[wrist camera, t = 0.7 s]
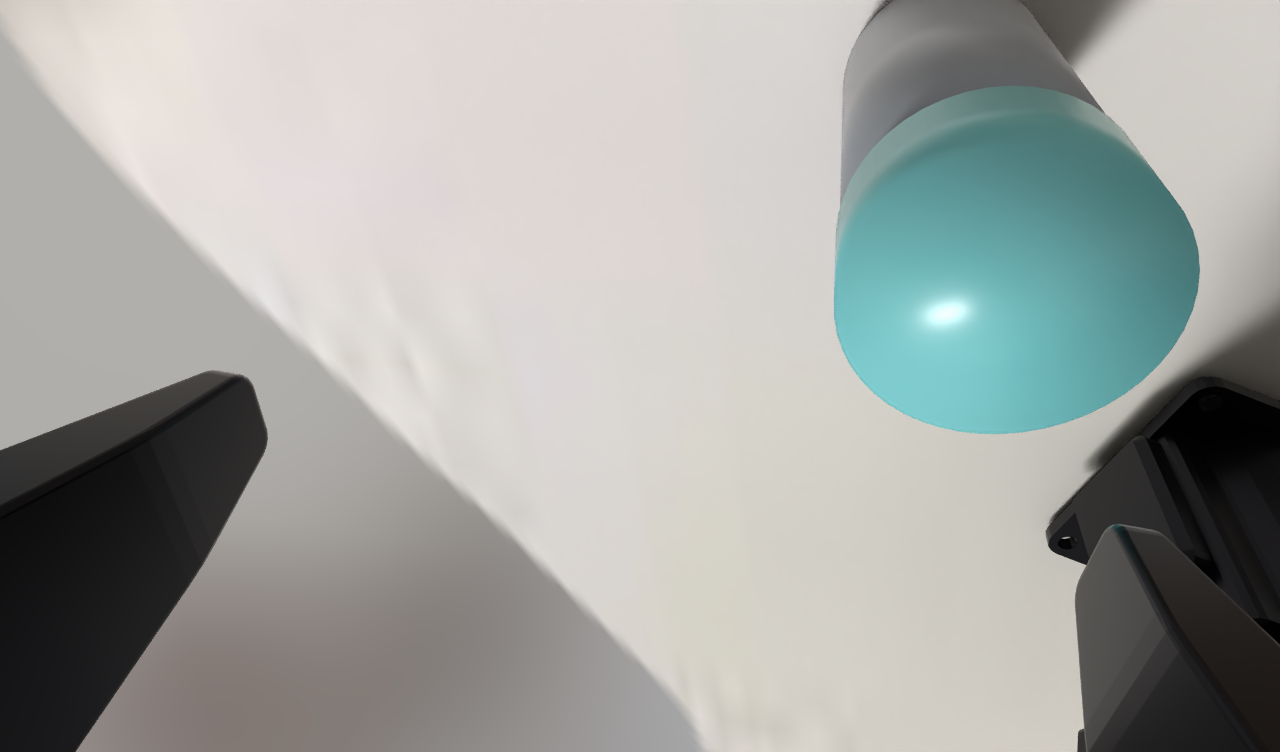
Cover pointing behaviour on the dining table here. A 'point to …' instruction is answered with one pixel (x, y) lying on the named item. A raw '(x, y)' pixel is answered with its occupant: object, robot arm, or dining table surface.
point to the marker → (996, 227)
